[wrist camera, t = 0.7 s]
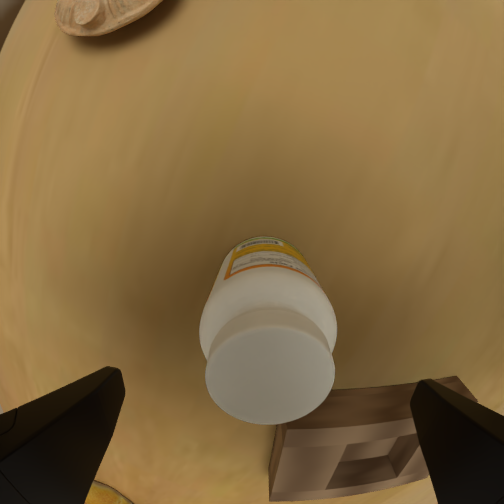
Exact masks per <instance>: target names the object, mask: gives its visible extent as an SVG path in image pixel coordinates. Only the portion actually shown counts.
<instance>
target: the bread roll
mask: <svg viewBox="0 0 504 504" xmlns="http://www.w3.org/2000/svg"><path fill="white" fill-rule="evenodd" d="M85 503H87V504H133V503H132V502H131V501H130V500H128V499H127V498H125V497H123V496H122V495H121V494H120V493H119V492H118V491H116V490H115V489H113V488H111V487H109V486H107V485H105V484H102V483H99V482H96V481H93V483H92V485H91V488H90V490H89V493H88V495H87V498H86V500H85Z"/></svg>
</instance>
